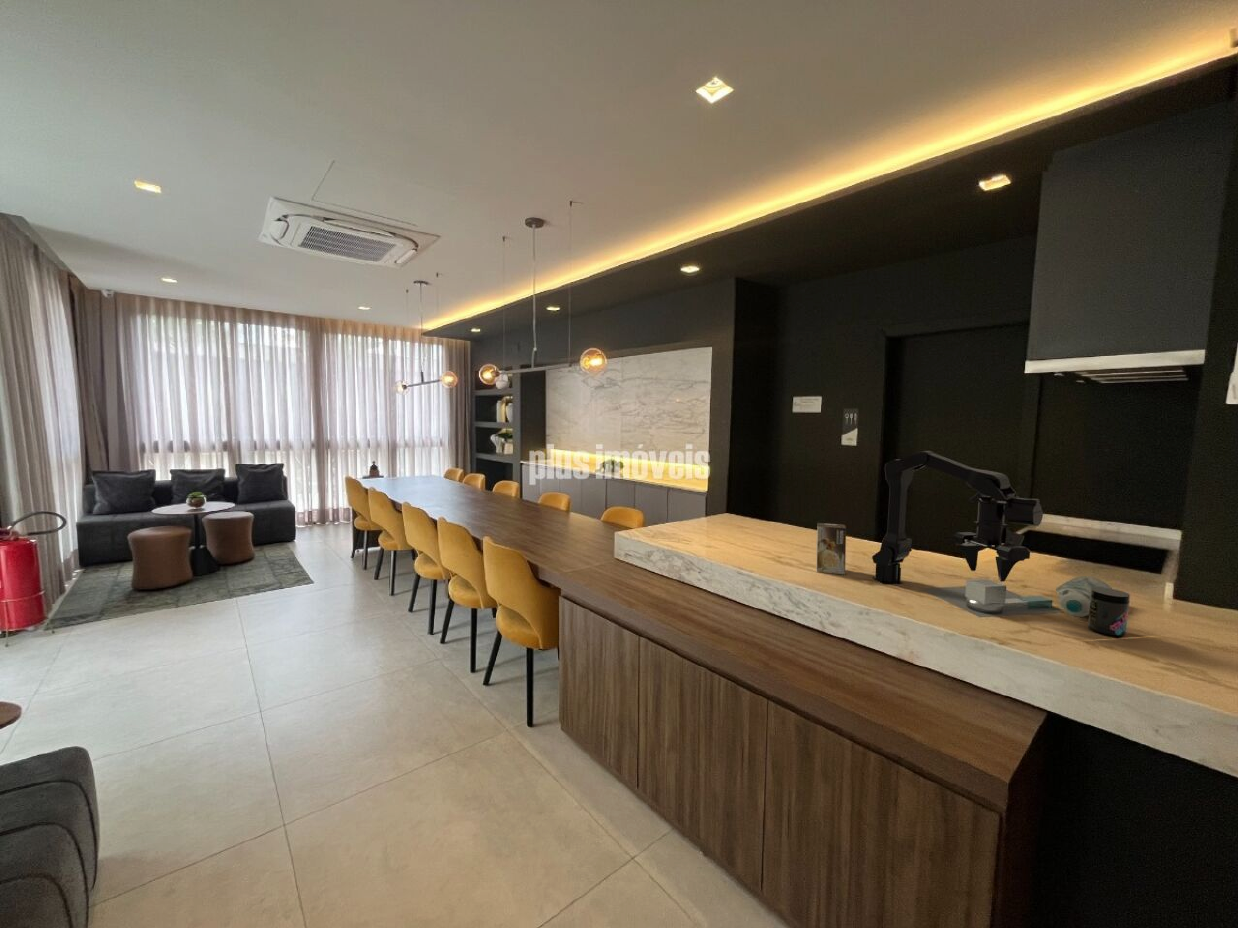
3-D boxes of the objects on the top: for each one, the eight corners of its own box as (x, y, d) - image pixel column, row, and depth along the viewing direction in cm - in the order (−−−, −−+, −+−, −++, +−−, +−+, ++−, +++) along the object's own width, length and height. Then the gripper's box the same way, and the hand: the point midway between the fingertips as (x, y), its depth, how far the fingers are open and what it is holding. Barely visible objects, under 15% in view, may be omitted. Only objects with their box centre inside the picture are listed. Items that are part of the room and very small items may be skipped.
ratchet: (983, 615, 130) (984, 592, 130) (959, 603, 138) (960, 582, 138) (1060, 610, 133) (1062, 588, 132) (1032, 599, 141) (1033, 579, 140)
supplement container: (1104, 638, 117) (1108, 596, 116) (1079, 626, 123) (1083, 586, 122) (1134, 639, 116) (1138, 597, 115) (1108, 627, 123) (1112, 587, 122)
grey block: (984, 604, 131) (985, 586, 131) (965, 596, 137) (966, 579, 137) (1005, 603, 132) (1006, 585, 131) (985, 595, 138) (986, 578, 137)
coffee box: (844, 569, 171) (846, 524, 169) (845, 574, 165) (847, 528, 163) (816, 566, 174) (817, 522, 173) (815, 571, 168) (817, 526, 167)
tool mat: (979, 618, 129) (979, 616, 129) (919, 589, 151) (919, 588, 151) (1064, 613, 132) (1064, 612, 132) (993, 585, 154) (993, 584, 154)
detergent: (1062, 592, 148) (1035, 609, 133) (1067, 569, 147) (1040, 584, 132) (1123, 609, 137) (1101, 630, 123) (1129, 585, 136) (1107, 603, 122)
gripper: (1051, 525, 124) (1047, 585, 125) (988, 512, 142) (984, 564, 144) (1011, 527, 123) (1007, 588, 124) (952, 513, 141) (950, 566, 142)
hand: (987, 575), depth 134 cm, fingers open, 9 cm apart
